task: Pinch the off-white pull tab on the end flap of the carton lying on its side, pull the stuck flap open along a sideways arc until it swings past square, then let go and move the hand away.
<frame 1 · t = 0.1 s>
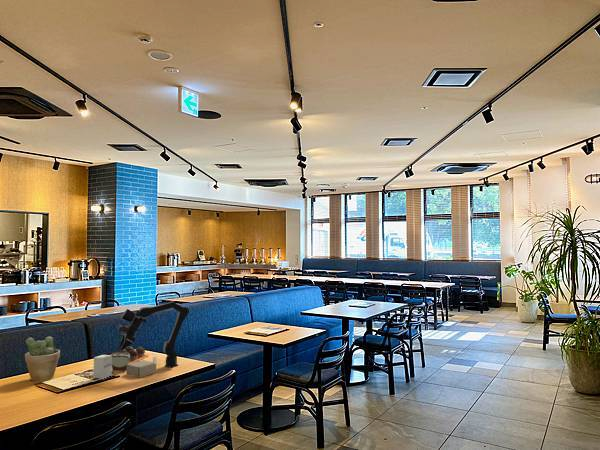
hand: (120, 348, 280), 15 cm above the table, tool tilted 30°, fingers open, 9 cm apart
carton: (140, 373, 277), on the table
food container: (121, 369, 286), on the table
end flap: (148, 366, 273), point 5 cm above the table, hinge at 0.0°
potted plant: (42, 379, 267), on the table
supplement box: (102, 377, 269), on the table
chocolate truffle: (127, 362, 308), on the table
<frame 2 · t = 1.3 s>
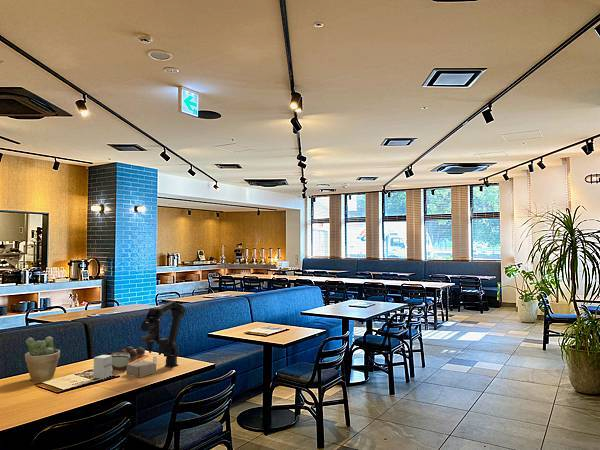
hand: (154, 354, 278), 12 cm above the table, tool pointing down, fingers open, 9 cm apart
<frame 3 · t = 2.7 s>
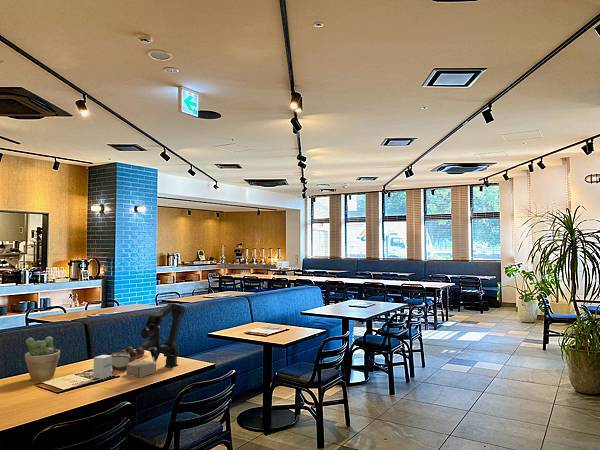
hand: (154, 360, 278), 8 cm above the table, tool pointing down, fingers closed on end flap
end flap: (148, 366, 273), point 5 cm above the table, hinge at 0.0°, touching gripper
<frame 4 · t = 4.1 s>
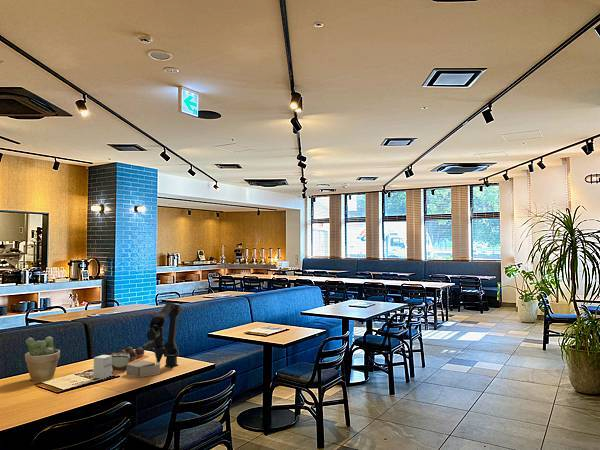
hand: (158, 362, 275), 7 cm above the table, tool pointing down, fingers closed
end flap: (149, 367, 272), point 5 cm above the table, hinge at 21.0°, touching gripper
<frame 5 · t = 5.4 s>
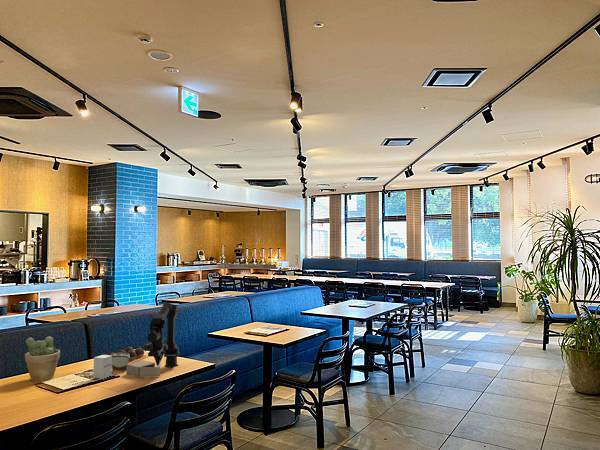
hand: (158, 364, 269), 7 cm above the table, tool pointing down, fingers closed
end flap: (149, 368, 269), point 5 cm above the table, hinge at 49.3°, touching gripper
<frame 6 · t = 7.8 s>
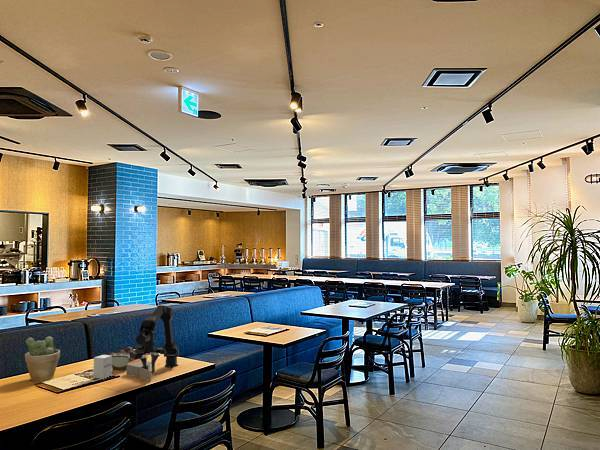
hand: (148, 368, 261), 8 cm above the table, tool pointing down, fingers open, 4 cm apart
end flap: (145, 370, 265), point 5 cm above the table, hinge at 95.3°
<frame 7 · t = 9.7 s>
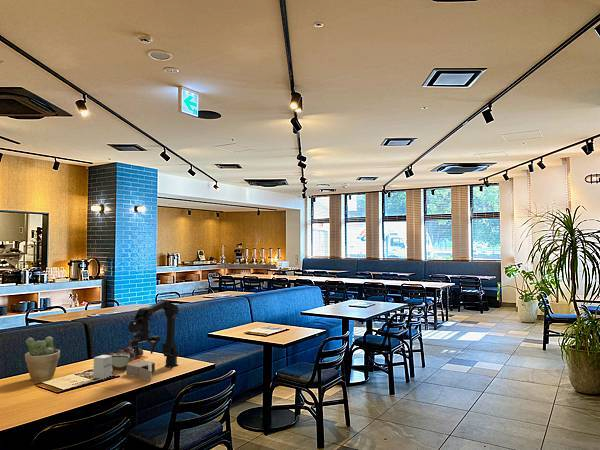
hand: (144, 355, 272), 12 cm above the table, tool pointing down, fingers open, 9 cm apart
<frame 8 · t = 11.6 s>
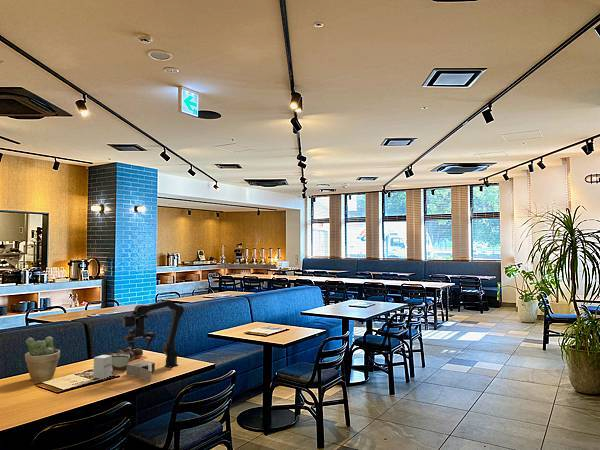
hand: (139, 350, 282), 13 cm above the table, tool pointing down, fingers open, 9 cm apart
at the end: end flap at +95° (first picture: +0°); the gripper is holding nothing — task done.
